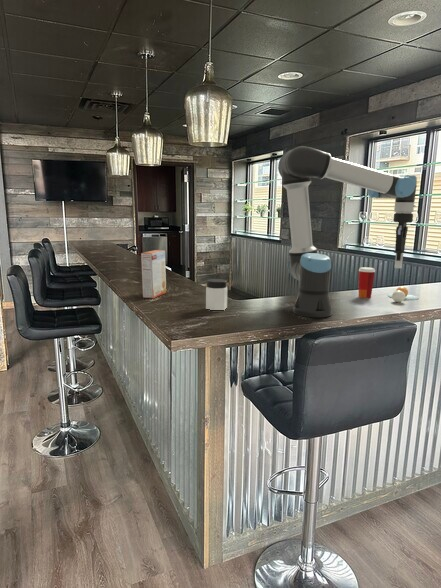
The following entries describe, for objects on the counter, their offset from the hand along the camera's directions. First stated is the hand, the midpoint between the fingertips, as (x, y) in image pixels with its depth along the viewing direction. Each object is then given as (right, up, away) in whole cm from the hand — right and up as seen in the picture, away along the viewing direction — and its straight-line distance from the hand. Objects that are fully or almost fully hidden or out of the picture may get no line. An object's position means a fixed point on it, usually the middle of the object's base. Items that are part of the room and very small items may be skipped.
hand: (398, 267), depth 180 cm
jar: (-79, -18, -10) cm, 82 cm away
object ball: (+9, -11, +16) cm, 21 cm away
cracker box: (-109, -12, +15) cm, 111 cm away
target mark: (+11, -13, +20) cm, 26 cm away
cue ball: (+3, -13, +7) cm, 15 cm away
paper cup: (-8, -13, +18) cm, 24 cm away
